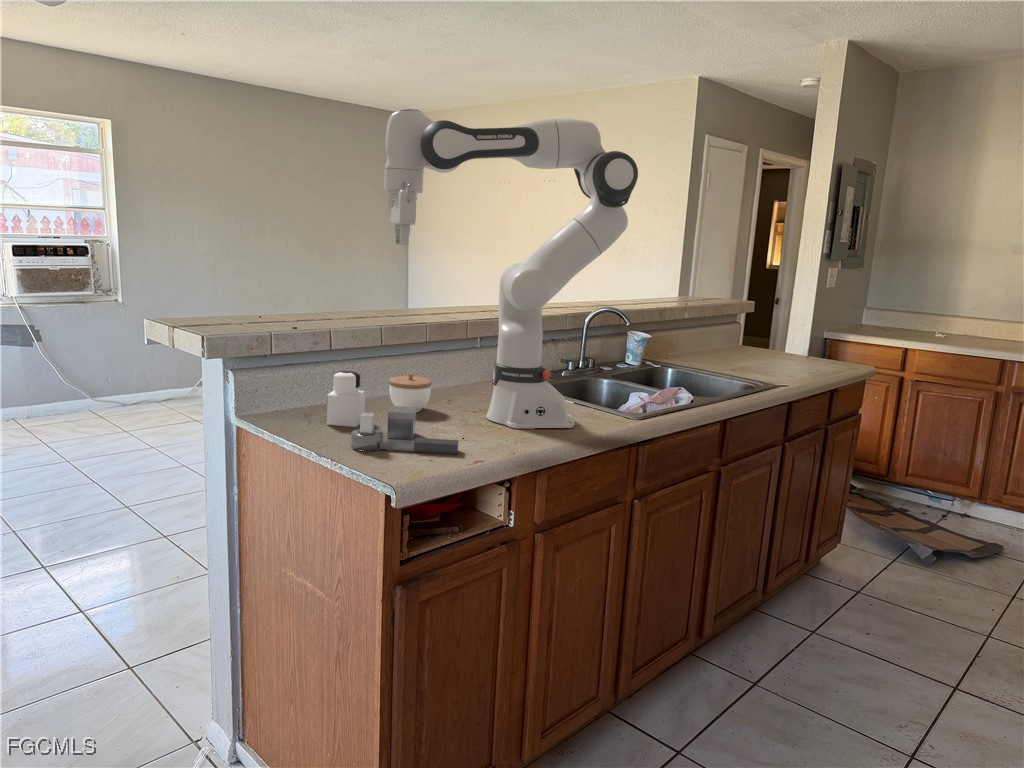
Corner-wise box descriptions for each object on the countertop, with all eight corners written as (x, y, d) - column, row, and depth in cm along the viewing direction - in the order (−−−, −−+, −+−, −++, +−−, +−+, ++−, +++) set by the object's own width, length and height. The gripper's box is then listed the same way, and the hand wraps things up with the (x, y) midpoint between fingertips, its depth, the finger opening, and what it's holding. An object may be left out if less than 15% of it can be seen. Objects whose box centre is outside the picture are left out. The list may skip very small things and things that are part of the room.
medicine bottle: (334, 417, 164) (335, 368, 162) (364, 419, 164) (366, 370, 162) (325, 425, 157) (326, 373, 155) (356, 427, 157) (358, 376, 155)
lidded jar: (382, 412, 172) (384, 375, 170) (394, 403, 183) (396, 368, 181) (424, 416, 171) (426, 379, 169) (434, 407, 182) (436, 372, 180)
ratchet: (458, 448, 147) (460, 416, 146) (456, 457, 141) (458, 424, 140) (353, 441, 146) (354, 409, 145) (347, 450, 140) (348, 417, 139)
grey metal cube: (415, 432, 156) (416, 407, 155) (412, 439, 151) (413, 413, 150) (390, 431, 156) (391, 405, 155) (387, 438, 151) (388, 411, 149)
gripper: (424, 182, 150) (421, 246, 153) (411, 187, 169) (409, 244, 172) (394, 179, 148) (392, 244, 151) (385, 185, 167) (383, 242, 170)
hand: (401, 244), depth 162 cm, fingers open, 8 cm apart
